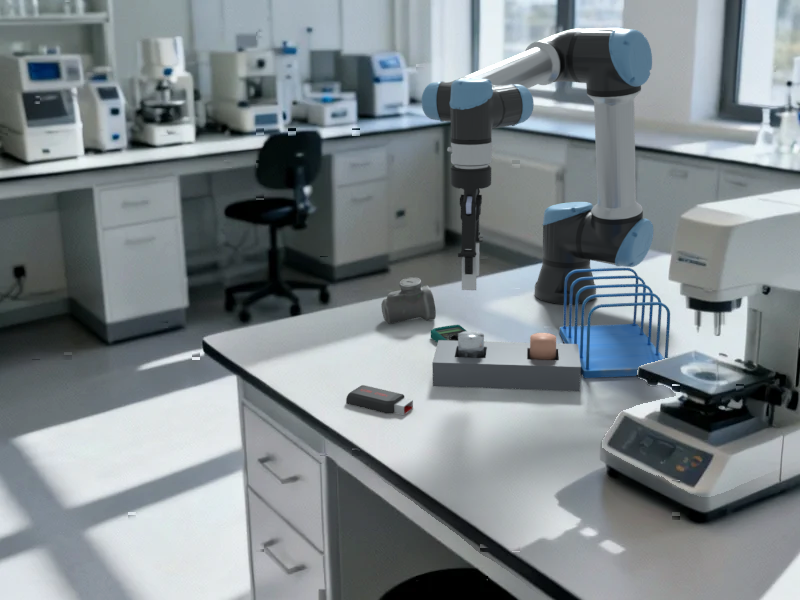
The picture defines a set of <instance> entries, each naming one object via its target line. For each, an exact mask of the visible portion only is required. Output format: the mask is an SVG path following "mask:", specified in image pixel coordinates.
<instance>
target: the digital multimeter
mask: <svg viewBox="0 0 800 600" xmlns="http://www.w3.org/2000/svg"><path fill="white" fill-rule="evenodd" d="M465 331H467V329H465V328H464V327H463V326H461V325H460V324H453V325H452V324H451V325H446V326H439V327H434V328H432V329H430V339H431V340H432V341H434V342H435V343H437V344H438V340H450V341H458V334H459V333H461V332H465Z"/></svg>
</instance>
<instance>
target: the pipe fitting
mask: <svg viewBox="0 0 800 600" xmlns="http://www.w3.org/2000/svg"><path fill="white" fill-rule="evenodd" d="M399 288H400V289H399V290H396V291H390V292H389V293H388V294H387V297H386V298H384V299H383V300H382V302H381V312H382V318H383V319H384V322H385V323H387V324H388V325H391V324H396V323H400V322H405V321H409V320H415V319H419V318H420V319H422V320H424V321H433V320H436V318H437V316H436V315H437V310H436V304H435V299H434V295H433V292H432V289H431V287H430V286H429V285H423V286H422V280H421V278H419V277H412V276H411V277H406V278H403V279H401V280H400V281H399Z"/></svg>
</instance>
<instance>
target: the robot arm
mask: <svg viewBox="0 0 800 600" xmlns="http://www.w3.org/2000/svg"><path fill="white" fill-rule="evenodd" d="M652 68H653V55H652V49H651V46H650V42H649V41H648V39H647V37H645V35H644V34H643V33H642V32H641V31H639V30H637V29H635V28H634V29H633V28H625V27H602V28H601V27H593V28H592V27H590V28H589V27H587V28H586V27H577V28H576V27H575V28H571V29H567V30H563V31H560V32H557V33H554V34H552V35H548V36H546V37H544V38H541V39H538V40H536V41H534V42H532V43H530V44H529V45H528V46H527V47H526V49H525V50H524V51H522V52H520V53H518V54H516V55H513V56H511V57H508V58H505V59H504V60H501V61H499V62H497V63H493V64H492V65H491V64H490V65H489V66H487V67H484V68H482V69H479V70H476V71H475V72H472V73H470V74H467V75H465V76H462V77H459V78H457V79H455V80H453V81H448V82H445V81H443V80H442V81H435V82H430V83H429V84H428V85H426V86H425V88H424V89H423V92H422V95H421V109H422V111H423V112H422V113H424V115H425V116H426V117H427V118H428V119H430V120H435V121H440V122H441V123H444V122H449V123H450V146H448V147H447V149H446V151H447V152H448V153H451V154H450V162H451V164H452V166H451V167H450V185H451V186H452V187H453V188H455V189H461V190H463V194H460V197H459V207H460V220H461V251H460V252H458V253H457V256H458V258H461V291H477V277H478V276H480V243H481V242H482V243H483V241H484V240H483V239H484V236H480V234H481V231H480V216H481V214H482V213H481V211H482V202H483V195H482V194H480V193H481V190H480V189H482V190H483V189H486V188H489V187H490V186H491V185H492V166H490V164H491V163H492V162H493V160H492V159H493V158H492V157H493V152H492V151H493V141H492V137H493V136H492V134H493V129H499V128H504V127H511V126H512V127H514V126H516V125H519V124H522V123H525V122H526V121H527V120H528V119H529V118H530V117H531V116H532V113H533V111H534V105H535V104H534V98H533V94H532V93H531V91H530V90H529V89H531V88H532V87H534V86H536V85H538V86H547V85H551V84H552V83H556V82H557V83H559V82H560V83H561V82H564V83H565V82H567V83H569V82H570V83H581V84H585V85H586V86H585V87H586V95H587V96H588V97H589V98H590V100H592V101H593V106H594V107H593V109H594V111H593V113H594V136H595V137H594V139H595V160H596V161H595V165H596V166H595V167H596V193H597V194H596V195H597V197H596V198H597V203H596V204H595V205H593V203H592V202H591V203H590V202H589V201H588V202H587V201H571V202H564V203H557V204H553V205H550V206H548V207H547V208H545V209H544V212H543V221H542V264H541V268H540V271H539V275H538V277H537V281H535V284H534V292H533V293H534V297H536V298H537V299H539V300H540V301H543V302H547V303H550V304H561V305H564V284H565V278H566V276H567V275H568V274H569V273H570V272H571V271H573V270H578V269H592V268H591V261H593V262H600V263H602V264H603V263H604V264H608V265H614V266H616V267H624V268H635V267H636V266H638V265H639V264H641V263H642V262H643V261H644V259H645V258H646V257H647V255H648V253H649V251H650V248H651V247H652V243H653V237H654V230H655V229H654V224H653V223H652V221H651V220H650V219H648V218H646V217H645V218H644V211H643V206H642V205H641V204H640V203H639V202H638V201H637V198H636V197H637V192H636V189H637V188H636V186H637V185H636V184H637V183H636V182H637V181H636V135H635V133H636V132H635V128H636V126H635V98H636V97H638V95H639V94H640V93H641V92H642V86H643V85H644V84H645V83H647V81H648V80H649V78H650V75H651V72H650V71H651V70H652ZM581 277H594V276H593V272H576V273H573V274H572V275H571V276H570V277H569V278H568V281H567V303H566V305H569V301H570V287H571V285H572V283H573V282H574V281H575V280H576V279H578V278H581ZM592 285H596V283H595V280H581V281H579V282H577V283H576V284H575V285H574V287H573V295H572V305H575V299H576V294H577V292H578V291H579V290H580V289H581V288H583V287H585V286H592ZM595 294H597V288H593V289H586V290H584V291H582V292H581V293H580V295H579V298H578V305H579V304H583V302H584V300H585V299H586V298H587V297H589V296H591V295H595ZM594 299H595V298H592V299H590V300H588V301H587V303H588V302H592V301H593V300H594Z"/></svg>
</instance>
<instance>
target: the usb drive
mask: <svg viewBox="0 0 800 600" xmlns="http://www.w3.org/2000/svg"><path fill="white" fill-rule="evenodd" d="M345 402H346V404H347V405H350V406H354V407H358V408H363V409H366V410H370V411H375V412H379V413H382V414H397V415H400V416H401V415H402V416H404V415H406V414H408V413H409V412H410V411H411V410H413V409H414V399H409V398H405V395H404V394H403V393H399V392H394V391H390V390H386V389H382V388H377V387H374V386H369V385H364V384H362V385H359V386H358V387H356V388H355V389H353V390H351V391H350V392H349V393H348V394H347V396H346V399H345Z"/></svg>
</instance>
